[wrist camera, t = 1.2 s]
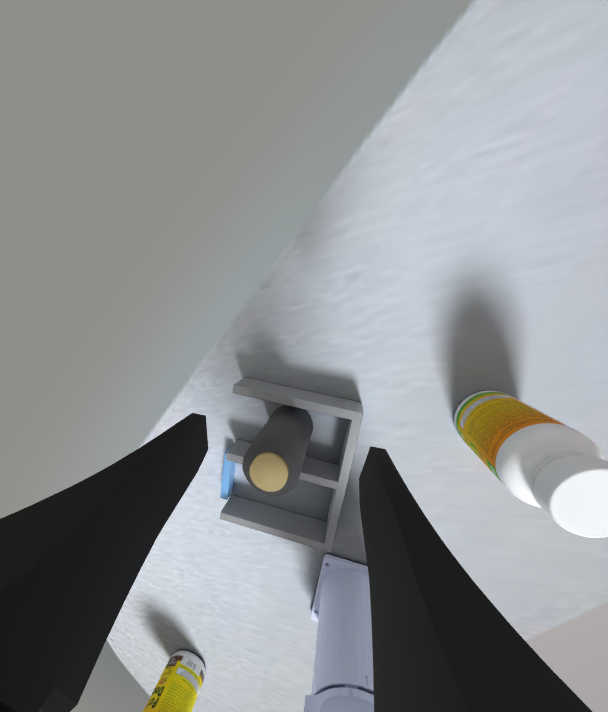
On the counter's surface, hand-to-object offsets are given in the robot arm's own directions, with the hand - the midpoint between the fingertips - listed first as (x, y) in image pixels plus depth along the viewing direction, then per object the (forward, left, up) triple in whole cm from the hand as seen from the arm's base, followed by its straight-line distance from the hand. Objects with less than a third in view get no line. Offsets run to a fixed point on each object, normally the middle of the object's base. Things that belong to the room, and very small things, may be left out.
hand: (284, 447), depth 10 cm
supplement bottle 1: (-46, +11, -13) cm, 49 cm away
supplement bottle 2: (-1, -15, -13) cm, 20 cm away
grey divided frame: (-10, +2, -13) cm, 16 cm away
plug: (-6, +2, -13) cm, 14 cm away
